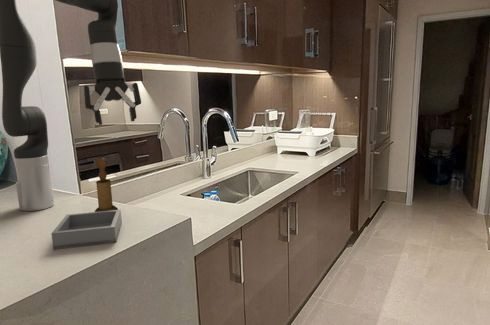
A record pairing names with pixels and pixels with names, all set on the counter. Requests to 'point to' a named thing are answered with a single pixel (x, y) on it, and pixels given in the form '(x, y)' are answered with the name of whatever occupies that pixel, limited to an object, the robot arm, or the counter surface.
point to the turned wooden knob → (104, 188)
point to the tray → (87, 229)
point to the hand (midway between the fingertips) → (116, 123)
